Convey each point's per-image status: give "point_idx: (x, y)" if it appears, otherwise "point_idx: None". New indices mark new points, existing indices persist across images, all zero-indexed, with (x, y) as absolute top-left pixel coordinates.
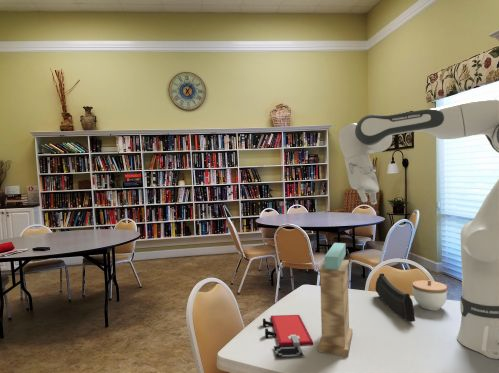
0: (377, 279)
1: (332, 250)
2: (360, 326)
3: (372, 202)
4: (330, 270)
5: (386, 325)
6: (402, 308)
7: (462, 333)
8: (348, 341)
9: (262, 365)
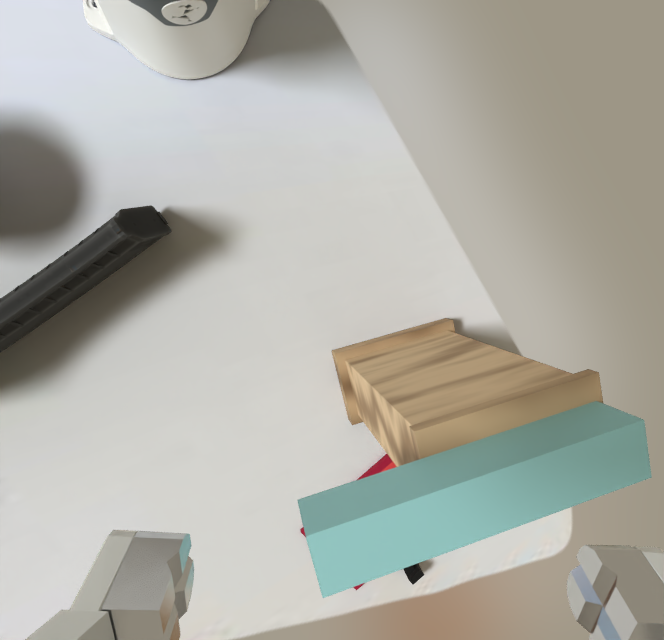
0: None
1: (524, 505)
2: (267, 349)
3: (186, 586)
4: None
5: (215, 285)
6: (140, 247)
7: (215, 51)
8: (411, 335)
9: None
